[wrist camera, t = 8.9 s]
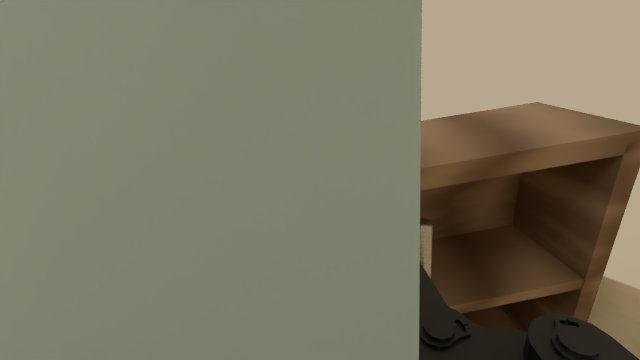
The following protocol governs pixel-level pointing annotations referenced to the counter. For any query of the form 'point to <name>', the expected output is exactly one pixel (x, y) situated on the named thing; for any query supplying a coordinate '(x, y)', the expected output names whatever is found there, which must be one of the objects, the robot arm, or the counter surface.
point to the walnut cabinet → (524, 209)
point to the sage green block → (210, 179)
